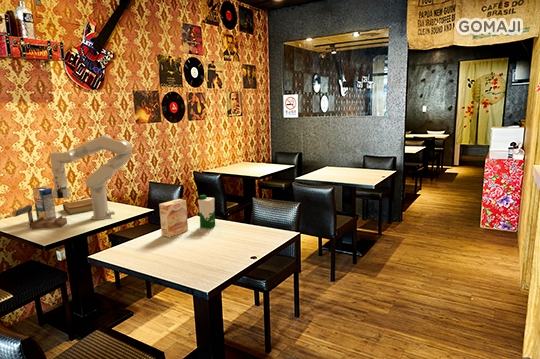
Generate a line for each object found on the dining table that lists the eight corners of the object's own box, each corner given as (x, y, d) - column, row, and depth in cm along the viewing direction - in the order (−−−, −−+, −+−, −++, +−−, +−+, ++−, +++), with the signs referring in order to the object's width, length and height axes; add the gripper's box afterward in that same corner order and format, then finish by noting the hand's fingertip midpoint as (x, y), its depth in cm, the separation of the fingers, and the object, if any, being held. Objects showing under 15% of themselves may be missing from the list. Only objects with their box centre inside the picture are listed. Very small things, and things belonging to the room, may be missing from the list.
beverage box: (46, 222, 257) (41, 190, 253) (37, 220, 262) (32, 188, 258) (56, 219, 263) (51, 188, 259) (46, 217, 268) (42, 186, 264)
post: (36, 226, 249) (33, 209, 247) (33, 227, 245) (31, 211, 243) (30, 226, 249) (28, 210, 246) (27, 228, 245) (25, 211, 243)
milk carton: (204, 223, 245) (203, 193, 241) (217, 224, 242) (215, 194, 238) (198, 228, 237) (196, 196, 233) (211, 229, 234) (209, 197, 230)
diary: (95, 204, 301) (94, 197, 300) (103, 209, 287) (102, 202, 286) (63, 210, 286) (62, 203, 285) (70, 215, 272) (69, 207, 271)
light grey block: (70, 196, 260) (69, 186, 258) (67, 197, 255) (66, 188, 254) (56, 196, 259) (55, 187, 258) (53, 198, 254) (52, 188, 253)
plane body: (67, 223, 253) (66, 215, 252) (61, 227, 245) (60, 219, 243) (38, 224, 252) (37, 217, 250) (31, 229, 243) (30, 221, 242)
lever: (16, 216, 231) (15, 211, 230) (11, 216, 231) (10, 211, 230) (33, 209, 246) (32, 204, 245) (28, 209, 246) (27, 204, 246)
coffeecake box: (168, 237, 221) (166, 205, 217) (161, 235, 225) (158, 203, 221) (188, 230, 233) (186, 199, 229) (181, 228, 237) (178, 198, 233)
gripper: (59, 172, 245) (62, 200, 249) (69, 168, 262) (73, 193, 266) (46, 173, 245) (50, 200, 248) (58, 168, 261) (61, 194, 265)
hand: (62, 196), depth 257 cm, fingers closed on light grey block, 5 cm apart
